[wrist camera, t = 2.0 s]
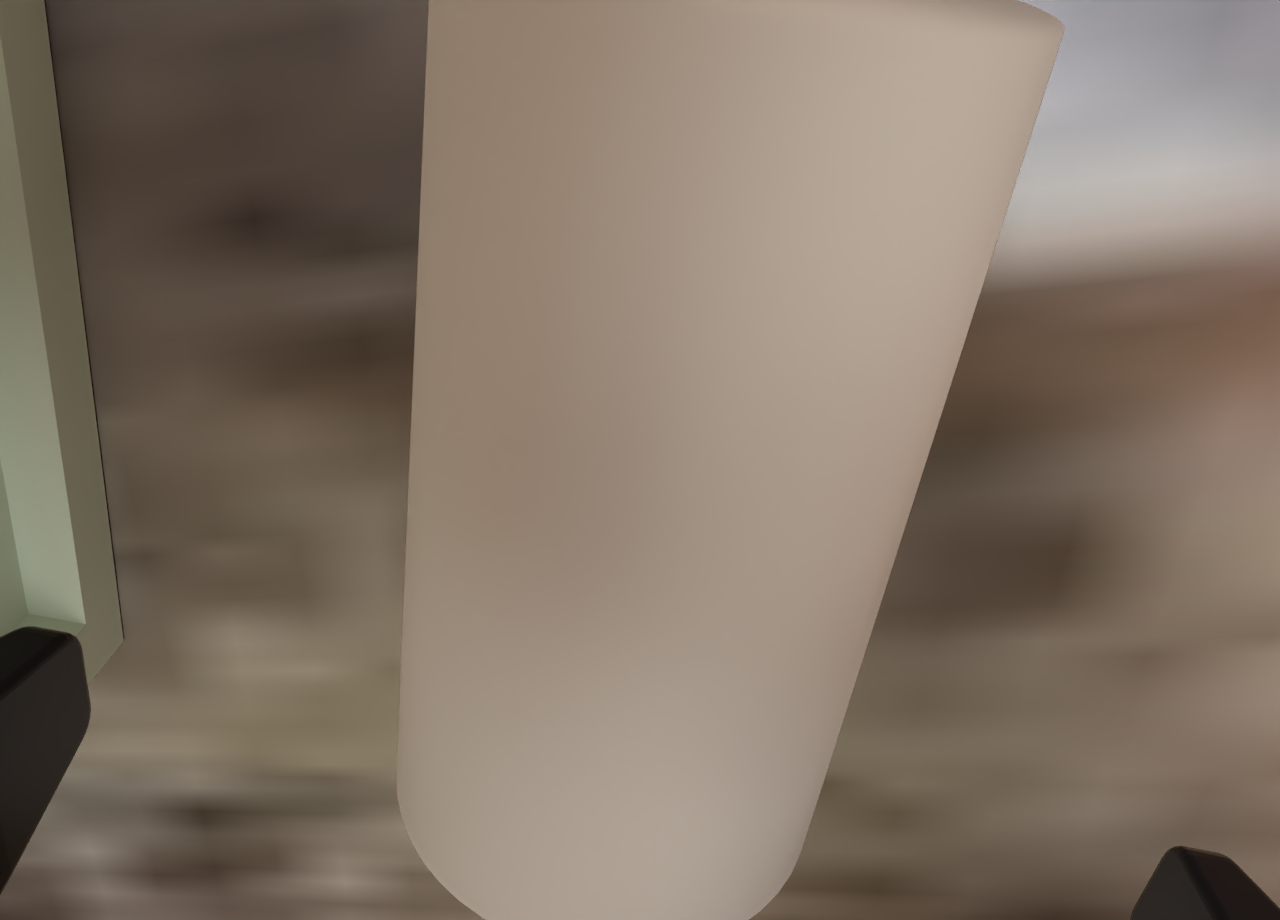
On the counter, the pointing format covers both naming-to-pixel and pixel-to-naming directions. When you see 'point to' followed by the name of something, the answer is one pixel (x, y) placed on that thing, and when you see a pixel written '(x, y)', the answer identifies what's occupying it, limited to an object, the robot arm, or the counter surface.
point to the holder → (46, 372)
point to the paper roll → (676, 417)
